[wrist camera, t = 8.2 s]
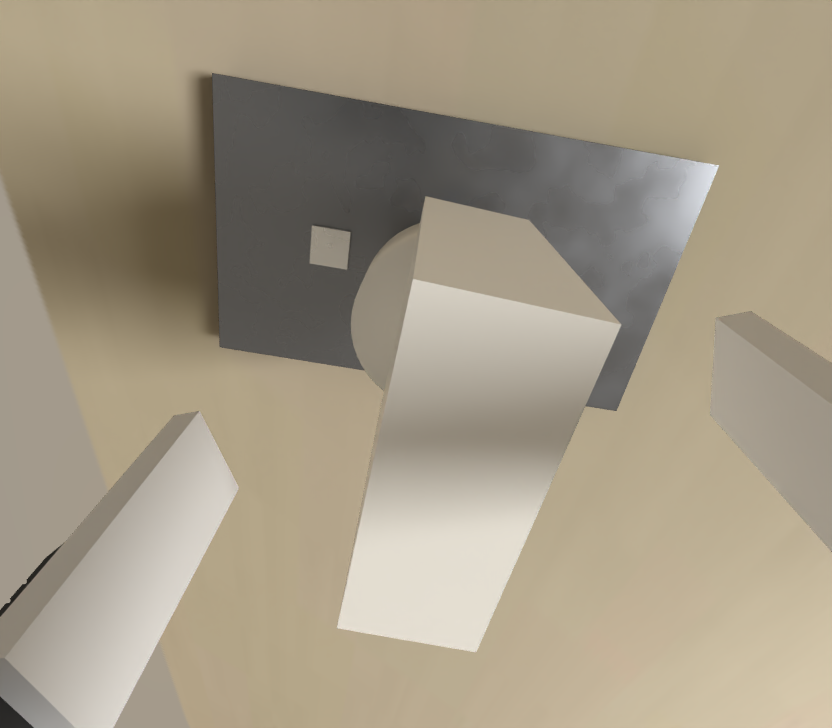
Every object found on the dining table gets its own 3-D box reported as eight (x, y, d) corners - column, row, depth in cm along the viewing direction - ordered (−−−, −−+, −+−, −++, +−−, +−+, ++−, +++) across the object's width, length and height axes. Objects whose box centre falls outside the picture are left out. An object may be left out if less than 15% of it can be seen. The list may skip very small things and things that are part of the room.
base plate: (224, 75, 23) (147, 61, 17) (703, 163, 24) (795, 179, 18) (229, 336, 30) (174, 395, 24) (608, 398, 31) (652, 469, 24)
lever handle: (382, 174, 18) (304, 254, 8) (559, 215, 19) (721, 347, 8) (344, 395, 23) (262, 640, 12) (488, 424, 23) (531, 686, 13)
